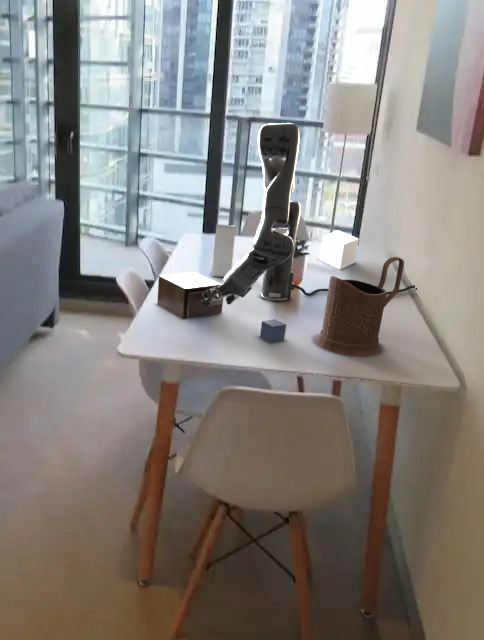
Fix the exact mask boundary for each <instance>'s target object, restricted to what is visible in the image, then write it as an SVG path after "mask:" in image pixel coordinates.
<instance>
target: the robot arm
mask: <svg viewBox="0 0 484 640" xmlns="http://www.w3.org/2000/svg"><path fill="white" fill-rule="evenodd" d="M257 137H258V138H257V144H258V152H259V157H260V160H261V165H262V175H263V188H264V195H263V201H262V213H261V219H260V223H259V225H258V227H259V228H258V231H257V230H256V232H255V233H256V234H255V236H254V238H253V242H252V248H253V249H251V250H249V251H248V252H247V253H246V254H245V255H244V256H243V257H242V259H241V260H239V261H237V262H236V263H235V264H234V266H232V269H231V270H230V271H229V272H228V273H227V274H226V275H225V277H223V280H222V281H223V282H222V283H220V284H221V285H220V286H219V287H215V285H212V286H211V287H210V288H209V289H208V290H207V291H206V292H205V293H204V294H203V297H204V300H203V301H202V303H203V306H204V307H205V308H206V307H208V306H209V305H210V304H211V303H212V302H213V301H215V300H220V299H222V298H223V299H224V298H225V301H226V305H231V304H232V303H233V302H234V301H235V300H238V299H240V298H241V299H242V298H245V297H246V295H248V294H249V292H250V291H251V290H252V289H253V287H252V286H253V285H254V284H255V283H256V282H257V281H258V280H259V278H260V277H261V276H262V275H263V277H262V286H261V293H260V297H261V298H262V299H264V300H267V301H272V302H285V301H290V300H291V298H292V291H294V290H295V289H297V290H299V291H301V292H302V294H303V295H305V296H308V297H309V296H310V297H311V296H313V295H314V294H317V293H319V292H328V289H329V288H317V289H314V290H313V291H311V292H306V290H305V289H304V288H303V287H301V286H300V285H297V284H295V282H293V281H294V271H293V263H294V255H295V251H296V250H295V249H296V242H297V241H296V240H297V234H298V228H299V222H300V218H301V212H302V211H301V210H302V209H301V207H302V206H301V203H300V202H299V201H297V200H296V201H293V200H291V195H292V194H293V192H294V191H295V186H296V185H295V183H296V182H295V181H296V180H295V179H296V178H295V172H296V166H297V162H298V155H299V151H300V149H299V148H300V129H299V126H298V124H297V123H291V122H286V123H284V122H282V123H268V124H264V125H262V126H261V128H260V129H259V131H258V136H257ZM272 228H275V229H280V230H281V229H283V230H286V233H281V232H278V231H276V232H274V231H272ZM415 286H416V285H414V284H413V285H409V286H407V287H404V288H402V289H400V288H399V291H398V293H399V294H400V293H404V292H406V291H409V290H411V289H415V290H416V291H418V290H417V288H415ZM218 291H219V293H220V295H221V296H220V297H219V296H218V294H217V292H218ZM392 291H393V290H391V291H387V294H386V295H389V294H390V293H391V292H392ZM398 293H397V294H398ZM214 296H215V297H214ZM213 297H214V298H213ZM212 298H213V299H212Z"/></svg>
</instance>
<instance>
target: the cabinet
mask: <svg viewBox="0 0 484 640" xmlns="http://www.w3.org/2000/svg"><path fill="white" fill-rule="evenodd" d="M221 284H222V283H220V282H217V281H216V280H213V279H211V278H209V277H207V276H205V275H202V274H200V273H198V272H195V271H193V272H192V271H190V272H189V271H188V272H181V273H170V274H161V275H158V286H157V303H156V304H157V306H159V307H161V308H163V309H164V310H166V311H168V312H170V313H171V314H173V315H175V316H176V317H178V318H180V319H182V320H185V319H189V318H188V317H186V316H187V314H185V313H186V300H187V291H193V290H201V289H209V288H210V287H211V286H212V285H215V287H219V286H220V285H221ZM213 315H216V314H213ZM213 315H212V316H213ZM206 316H207V317H208V315H206ZM206 316H205V317H206ZM200 317H201V316H199V317H198V318H200ZM192 318H194V317H191V318H190V319H192Z"/></svg>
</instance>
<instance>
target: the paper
mask: <svg viewBox="0 0 484 640" xmlns="http://www.w3.org/2000/svg"><path fill="white" fill-rule="evenodd" d="M359 240H360V239H359V238H358V237H356V236H353V235H351V234H348V233H346V232H343V231H342V230H339V229H337V230H335V231H332V232H330V233H329V232H328V233H327V234H324V235H322V241H321V246H320V247H321V248H320V252H319V253H320V254H319V261H322V262H323V263H326V264H327V265H329V266H331V267H333V268H336V269H338V270H342V269H344V268H347V267H349V266H351V265H353V264H355V262H356V258H357V257H356V256H357V252H358V246H359Z"/></svg>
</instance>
